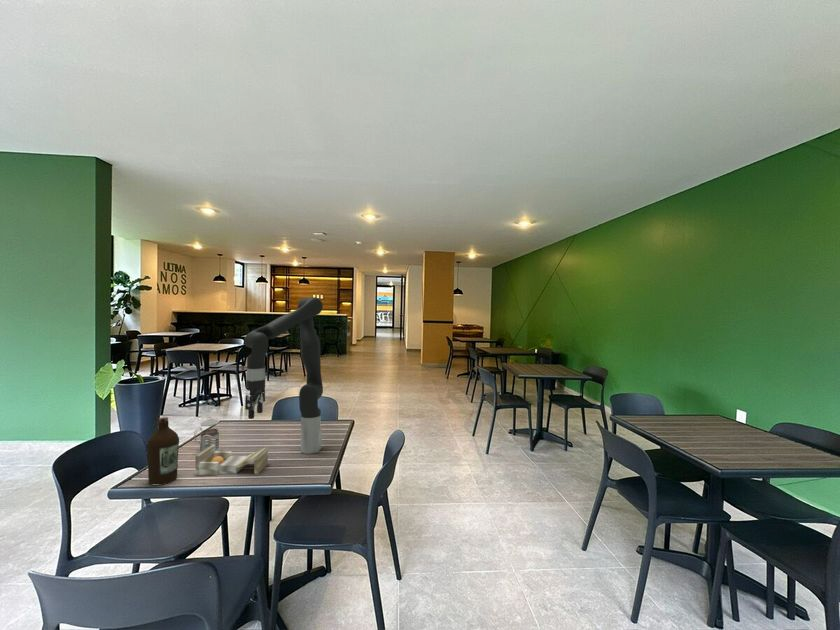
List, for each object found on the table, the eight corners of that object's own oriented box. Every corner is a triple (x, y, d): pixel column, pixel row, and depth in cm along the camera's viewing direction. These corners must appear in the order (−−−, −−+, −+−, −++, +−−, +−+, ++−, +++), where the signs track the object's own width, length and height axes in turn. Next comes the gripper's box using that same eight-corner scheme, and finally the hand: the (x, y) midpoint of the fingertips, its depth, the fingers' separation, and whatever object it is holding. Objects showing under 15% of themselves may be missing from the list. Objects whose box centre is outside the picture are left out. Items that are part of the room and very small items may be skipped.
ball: (228, 460, 160) (219, 467, 160) (221, 451, 160) (212, 459, 160) (222, 465, 155) (213, 473, 155) (214, 456, 155) (205, 464, 155)
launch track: (268, 462, 164) (269, 445, 164) (257, 475, 152) (257, 456, 152) (211, 462, 164) (212, 444, 163) (195, 475, 151) (195, 455, 151)
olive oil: (140, 483, 144) (140, 420, 143) (168, 472, 153) (168, 413, 153) (157, 488, 139) (157, 423, 139) (184, 477, 149) (185, 416, 149)
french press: (224, 450, 177) (224, 399, 177) (197, 457, 169) (197, 404, 168) (217, 445, 184) (217, 396, 183) (190, 452, 175) (191, 400, 175)
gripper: (254, 375, 164) (254, 411, 165) (239, 381, 150) (238, 420, 150) (271, 375, 164) (270, 411, 165) (257, 381, 150) (257, 420, 150)
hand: (255, 415), depth 157 cm, fingers open, 8 cm apart
